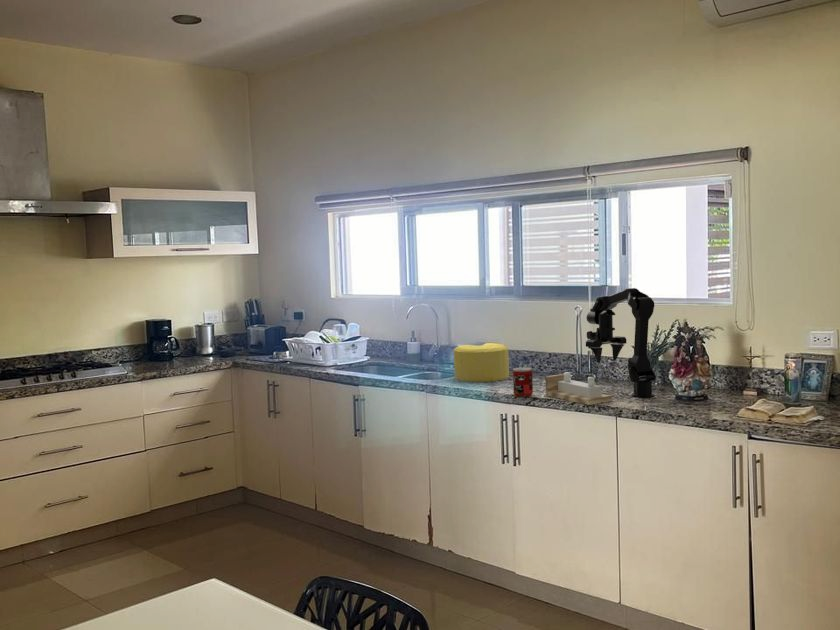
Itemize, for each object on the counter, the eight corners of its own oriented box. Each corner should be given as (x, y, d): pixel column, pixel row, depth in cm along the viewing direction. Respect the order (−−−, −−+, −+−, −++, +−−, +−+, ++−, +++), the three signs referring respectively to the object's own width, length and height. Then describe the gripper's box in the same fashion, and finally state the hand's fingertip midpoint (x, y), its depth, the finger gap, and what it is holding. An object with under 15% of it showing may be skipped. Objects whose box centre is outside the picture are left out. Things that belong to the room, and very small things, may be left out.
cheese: (472, 371, 397) (471, 341, 396) (519, 374, 382) (518, 343, 380) (444, 379, 376) (443, 348, 374) (492, 383, 361) (490, 350, 359)
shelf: (612, 400, 309) (611, 380, 309) (589, 405, 303) (588, 384, 302) (568, 392, 331) (567, 373, 330) (545, 395, 325) (545, 376, 324)
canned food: (510, 394, 332) (509, 368, 331) (526, 392, 335) (526, 366, 334) (519, 397, 325) (518, 370, 324) (536, 395, 328) (535, 368, 327)
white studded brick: (601, 396, 309) (601, 377, 308) (589, 398, 306) (589, 379, 306) (569, 389, 327) (569, 371, 326) (558, 390, 324) (557, 372, 323)
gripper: (608, 322, 347) (609, 357, 349) (576, 326, 338) (577, 362, 339) (627, 324, 338) (627, 360, 339) (594, 327, 328) (595, 365, 329)
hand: (606, 361), depth 337 cm, fingers open, 9 cm apart
